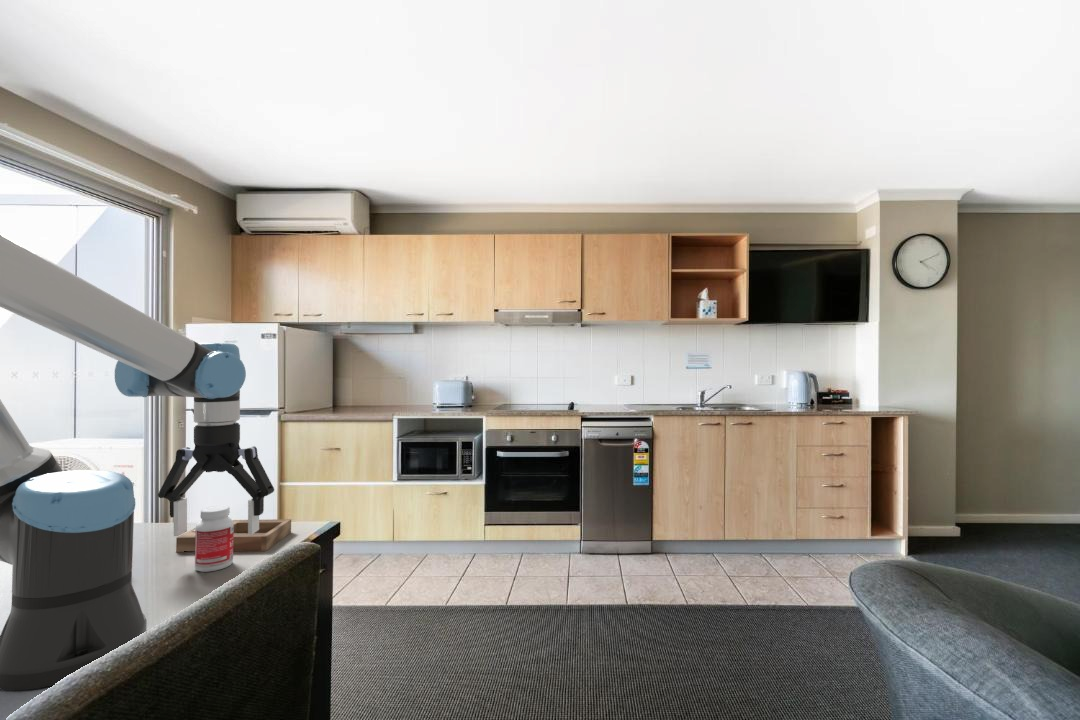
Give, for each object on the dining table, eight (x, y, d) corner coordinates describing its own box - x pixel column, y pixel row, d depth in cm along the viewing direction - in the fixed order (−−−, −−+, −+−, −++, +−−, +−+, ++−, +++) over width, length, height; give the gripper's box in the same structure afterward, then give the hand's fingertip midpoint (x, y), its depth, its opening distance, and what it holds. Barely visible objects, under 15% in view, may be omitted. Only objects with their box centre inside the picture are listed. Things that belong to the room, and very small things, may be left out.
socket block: (266, 550, 104) (266, 535, 104) (176, 552, 103) (176, 536, 103) (291, 532, 116) (291, 518, 116) (210, 533, 115) (210, 519, 115)
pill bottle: (236, 566, 96) (238, 508, 96) (199, 575, 92) (200, 515, 92) (227, 557, 100) (228, 502, 100) (191, 566, 96) (192, 508, 96)
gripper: (292, 420, 101) (292, 525, 101) (163, 421, 99) (162, 527, 99) (275, 424, 94) (274, 538, 94) (135, 426, 92) (134, 541, 92)
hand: (217, 533), depth 96 cm, fingers open, 13 cm apart
